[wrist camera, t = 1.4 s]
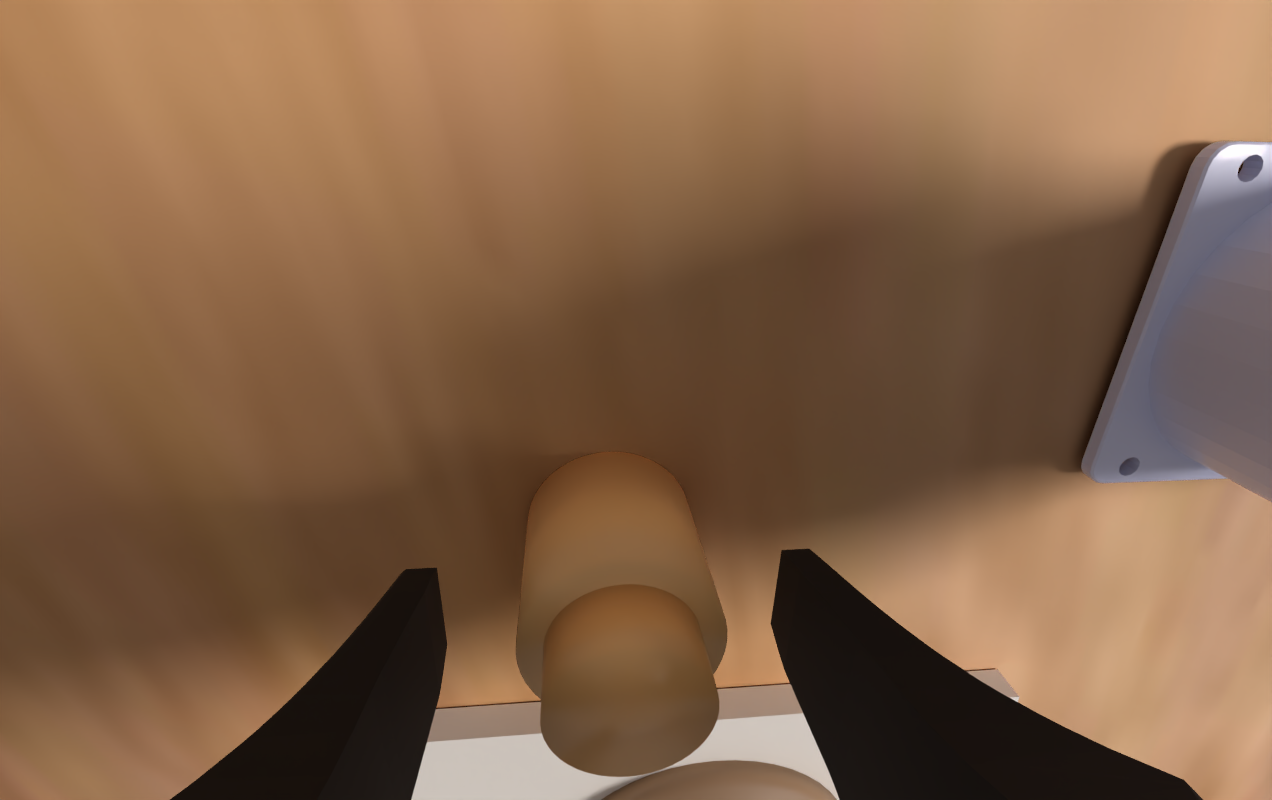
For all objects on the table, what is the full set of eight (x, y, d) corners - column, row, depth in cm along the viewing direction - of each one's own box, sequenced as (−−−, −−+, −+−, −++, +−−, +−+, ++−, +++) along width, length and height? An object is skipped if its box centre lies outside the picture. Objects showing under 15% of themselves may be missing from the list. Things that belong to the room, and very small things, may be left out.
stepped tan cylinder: (693, 449, 15) (761, 617, 10) (684, 581, 16) (737, 785, 11) (523, 454, 14) (501, 633, 9) (531, 590, 16) (516, 805, 11)
